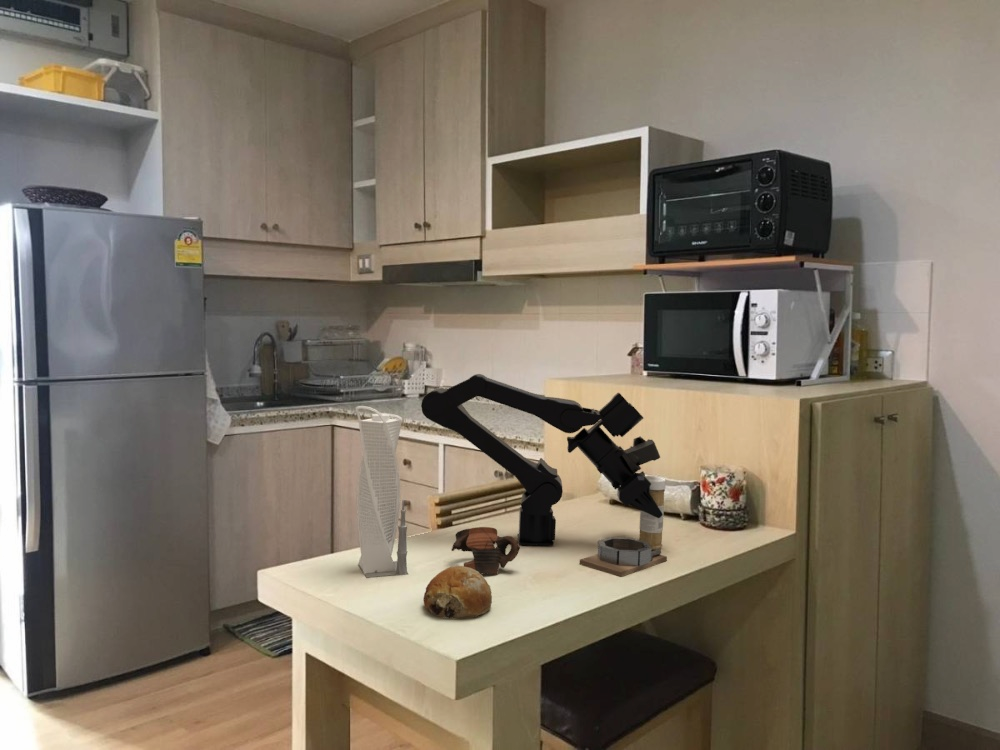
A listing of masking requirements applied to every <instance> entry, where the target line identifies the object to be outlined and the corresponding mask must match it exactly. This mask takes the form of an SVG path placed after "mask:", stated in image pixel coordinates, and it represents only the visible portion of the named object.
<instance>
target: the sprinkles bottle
mask: <svg viewBox="0 0 1000 750" xmlns="http://www.w3.org/2000/svg"><path fill="white" fill-rule="evenodd" d="M645 477H646V478H647V479H648V480H649V481H650V483H651V485H650V490H649V493H650V495H651V496H652V498H653V499H654V501H655V503H656V504H657V506H658V507H659V509H660V511H661V512H662V514H663V515H662V516H661V517H660V518H657V517H655V516H652V515H650V514H648V513H646V512H644V511H641V510H640V512H639V513H640V514H639V537H638V538H639V539H638V540H641V541H645V542H648V543H649V545H650V546H651V551H654V550H657V549H660V550H661V549H662V547H663V544H662V541H663V530H664V512H665V489H666V482H667V481H666V478H664V477H660V476H651V475H650V476H646V475H645Z"/></svg>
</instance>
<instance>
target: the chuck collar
mask: <svg viewBox="0 0 1000 750" xmlns="http://www.w3.org/2000/svg"><path fill="white" fill-rule="evenodd" d="M597 554H598V557H599V559H600V560H601V561H604V562H607V563H611V564H614V565H619V566H641V565H644V564H646V563H649V562H651V561H652V560H653V557H654V556H657V555H662V550H661V548H660V549H657V550H651V546H650V545H649V543H648V542H645V541H641V540H639V539H638V538H633V537H625V536H624V537H619V536H617V537H616V536H611V537H610V536H609V537H606V538H602V539H599V540H598V541H597Z"/></svg>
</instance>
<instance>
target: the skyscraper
mask: <svg viewBox="0 0 1000 750" xmlns="http://www.w3.org/2000/svg"><path fill="white" fill-rule="evenodd" d="M354 409H355V412H356V416H357V420H358V428H359V434H360V435H359V436H360V441H361V449H362V457H361V462H360V467H359V472H358V480H357V490H356V493H357V494H356V497H357V498H356V511H357V513H356V516H357V528H358V539H359V546H360V547H359V548H360V549H359V550H360V558H359V561H358V563H357V566H358V568H359V569H360V570H361V572H362V573H363V575H364V577H365V578H366V579H371V578H383V577H394V576H403V575H404V576H407V575H409V573H408V567H407V566H408V565H407V555H408V551H407V549H408V547H407V541H408V540H407V530H408V525H406V509H405V499H402V507H401V495H402V493H401V489H402V488H401V478H400V477H401V475H400V469H399V463H398V458H397V454H396V452H397V447H398V442H399V437H400V433H401V428H402V423H403V418H402V417H401V416H400V415H397V414H394V413H388V412H380V411H379V410H377V409H375V408H374V407H370V406H367V405H358V406H356V407H355V408H354ZM360 410H368V411H372V412H374V414H373V413H372V414H371V418H367V419H361V415H360V412H359V411H360ZM390 417H391V418H390ZM395 418H396V419H395ZM401 508H402V509H401ZM400 509H401V510H400ZM399 520H400V524H399ZM397 531H398V539H397V540H398V541H397V551H396V556H397V559H396V561H395V560H393V557H392V555H393V554H392V553H393V549H394V545H395V541H396V537H397Z"/></svg>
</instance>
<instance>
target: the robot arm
mask: <svg viewBox="0 0 1000 750" xmlns="http://www.w3.org/2000/svg"><path fill="white" fill-rule="evenodd" d="M476 397H480V398H483V399H486V400H489V401H492V402H494V403H497V404H500V405H503V406H507V407H510V408H511V409H516V410H517V411H521V412H524V413H527V414H530V415H533V416H535V417H537V418H539V419H540V420H542V421H543V422H544V423H547V424H549V425H550V426H552V427H554V428H556V429H558V431H559V430H560V431H561V432H563V433H565V434H575V433H576V432H578V433H577V434H575V435H574V436H567V437H566V440H567V447H566V448H567V452H568V453H569V454H571V453H573V451H575V450H576V449H579V451H580V452H581V453H582V454H583V455H584V456H585V457H586V458H587V459H588V460H589V462H591V463H592V464H593V466H594V467H596V470H597V471H598V472H599V473H600V474H602V475H603V476H604V478H605V479H606V480H607V481H608V482H609V483H610V485H611V486H612V488H613V489H614V490H617V498H618V500H619V501H620V502H621V504H622V505H624V507H628V506H631V507H633V508H634V509H637V510H640V512H641V511H644V512H646V513H648V514H650V515H652V516H655V517H657V518H660V517H661V516H662V515H663V514H662V512H661V511H660V509H659V507H658V506H657V504H656V503H655V501H654V499H653V498H652V496H651V495H650V493H649V490H650V485H651V483H650V481H649V480H648V479H647V478H646V474H645V472H644V471H640V470H642V467H641V465H644V464H647V463H650V462H651V461H654V462H655V461H657V460H659V459H660V458H661V455H660V453H659V449H658V448H657V446H656V443H655V441H654V440H653V439H647V440H645V439H644V438H643V437H641V436H638V437H635V438H633V441H632V446H629V448H627V449H625V450H624V448H623V447H622V446H621V445H617V444H616V443H615V442H614V441H613V440H612V438H615V437H619V436H620V437H621V438H623V437H625V436H626V434H628V433H629V432H630V431H631V430H632V429H633V428H634V427H635V426H637V425H638V424H639V423H640V422H641V421H643V419H644V416H643V415H641V413H640V412H639V411H638V410H637V408H636V407H635V406H634V405H633V404H632V403H631V402H628V401H627V400H626V398H625V397H624V396H623V395H622V394H621V393H620V392H617V393H616V394H614V395H613V396H612V398H611V399H610V400H609V401H608V402H607V403H606V404H605V405H604V406H603V407H601V408H600V409H599V410H598V409H595V408H588V407H583V406H582V405H581V403H579V402H577V401H576V400H572V399H567V398H560V397H553V396H543V395H539V394H536V393H534V392H530V391H529V390H528V391H527V390H524V389H522V388H518V387H515V386H513V385H510V384H507V383H504V382H501V381H499V380H495V379H492V378H490V377H487V376H485V375H484V374H481V373H476V374H474V375H472V376H470V377H469V378H468V379H465V380H463V381H461V382H459V383H457V384H454V385H453V386H450V387H449V388H443V387H440V388H439V387H438V388H435V389H432V390H431V391H430V392H428V393H426V394H425V396H423V398H422V400H421V403H420V406H421V412H422V414H423V416H424V417H425V418H426V419H428V420H429V421H431V422H433V423H435V424H437V425H439V426H441V427H443V428H445V429H448V430H450V431H453V432H455V433H458V434H459V435H460V436H461V437H462V438H464V439H465V440H467V441H468V442H470V444H472V445H473V446H474V447H475V448H477V449H479V451H481V452H482V453H483V454H485V455H486V456H488V458H490V459H492V460H493V461H494V462H496V463H497V464H498V465H499V466H501V467H502V468H503V469H504V470H506V471H507V472H509V474H511V475H512V476H514V477H515V479H516V480H517V481H518V482H519V483H520V484H521V486H522V488H524V490H525V491H524V492H522V495H521V501H520V506H519V511H518V513H519V515H518V516H519V518H518V533H517V536H516V537H517V541H518V545H520V546H547V547H549V546H551V547H552V546H554V541H555V540H556V521H557V520H556V517H555V516H554V510H553V508H552V507H553V506H554V505H556V504H558V502H560V500H561V498H562V497H563V493H564V492H563V491H564V489H563V483H562V482H563V481H562V478H561V477H560V475H559V474H558V469H557V468H554V467H552V466H550V465H549V464H548V463H547V462H546V460H544V459H543V458H542V457H540V458H539V460H538V462H534V461H532V460H530V459H528V458H526V456H523V454H521V453H519V452H518V451H517V450H515V448H513V447H512V446H511V445H509V444H508V443H506V442H505V441H504V439H501V438H500V437H499V436H497V435H496V434H495V433H494V432H492V431H491V430H490V429H489V428H487V427H486V426H484V425H483V424H482V423H480V422H479V421H478V420H477V419H475V418H474V417H473V416H472V415H471V414H470V413H469V412H468V410H467V409H466V408H465V407H464V405H463V404H465V403H467V402H468V401H470V400H472V399H474V398H476ZM588 426H591V427H590V428H588V429H587V428H586V427H588ZM602 426H603V427H604V429H605V430H607V432H608V433H609V434H610V435H611V436H612V438H611V437H610V436H609V435H608V434H607V433H606V432H605V431H604V430H603V429H602V428H601V427H602ZM638 471H640V472H638Z"/></svg>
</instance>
